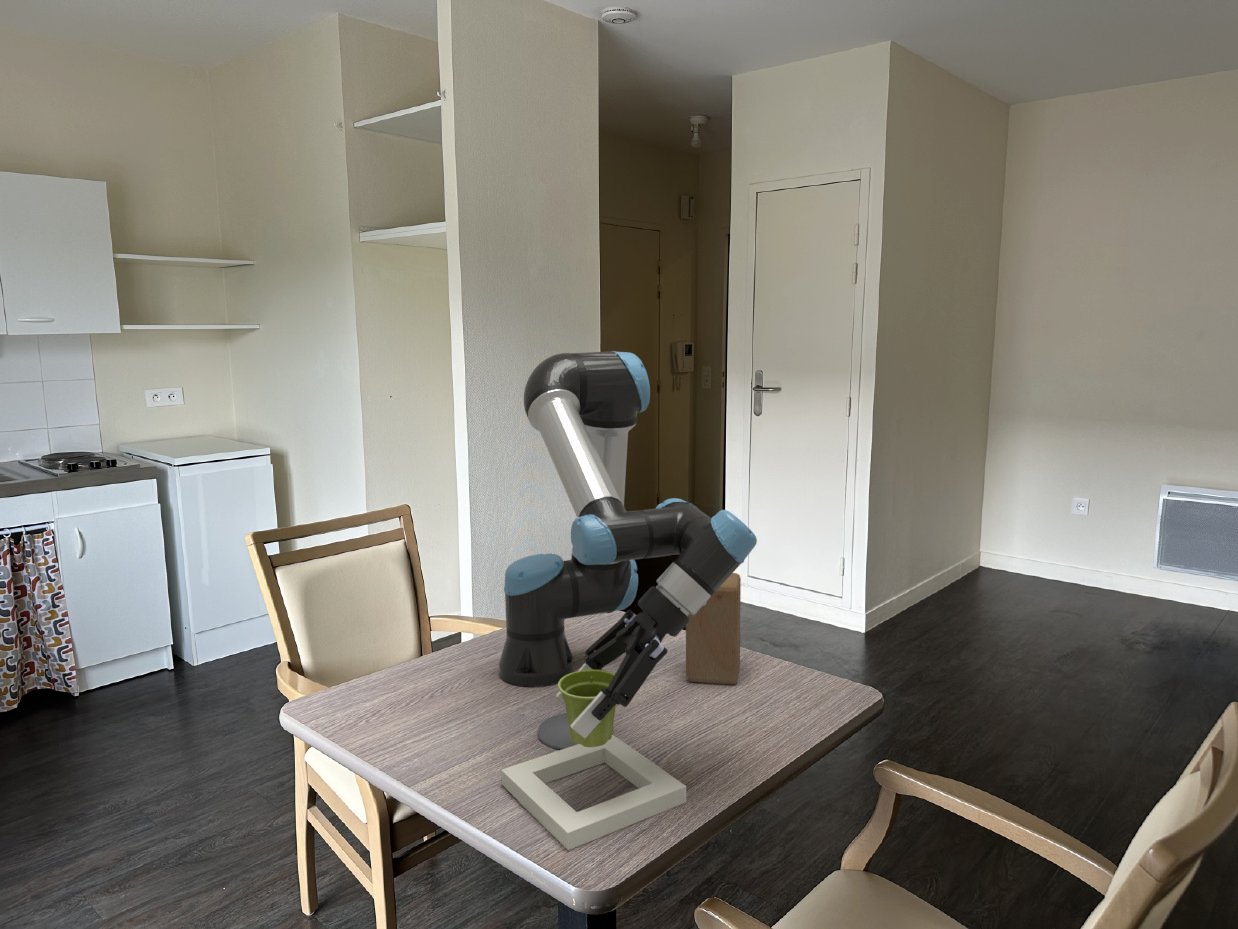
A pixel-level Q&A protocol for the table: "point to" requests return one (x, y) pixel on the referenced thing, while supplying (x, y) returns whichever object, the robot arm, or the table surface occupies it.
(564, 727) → the mat
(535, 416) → the robot arm
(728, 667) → the wooden block
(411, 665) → the table surface
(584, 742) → the plant pot
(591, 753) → the well board
